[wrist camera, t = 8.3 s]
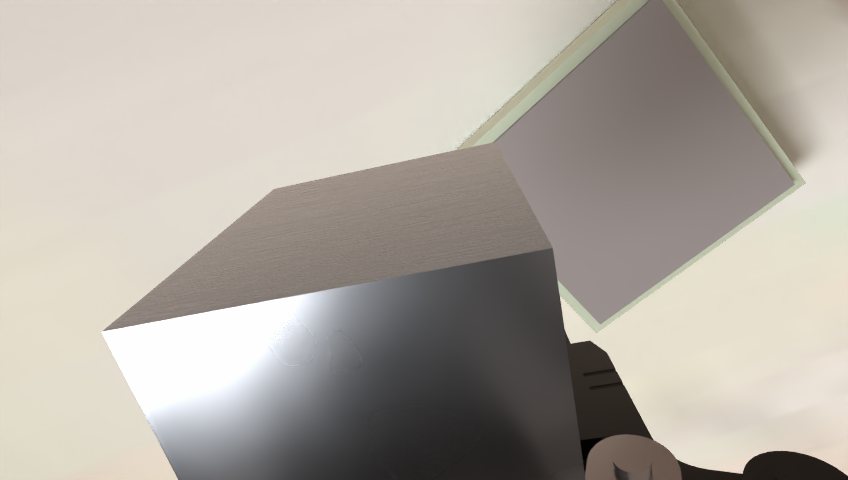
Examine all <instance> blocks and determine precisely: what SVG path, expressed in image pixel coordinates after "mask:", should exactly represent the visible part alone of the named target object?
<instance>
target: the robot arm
mask: <svg viewBox="0 0 848 480" xmlns="http://www.w3.org/2000/svg"><path fill="white" fill-rule="evenodd" d="M565 337H566V344H567V351H568V359H569V366H570V373H571V380H572V387H573V394H574V401H575V408H576V416H577V423H578V430H579V437H580V444H581V451H582V458H583V465H584V473H585V480H848V476H847V475H846V474H844V473H843V472H841V471H840V470H838V469H837V468H835V467H834V466H832V465H830V464H828V463H826V462H824V461H822V460H820V459H817V458H815V457H811V456H808V455H805V454H801V453H796V452H789V451H772V452H766V453H762V454H759V455H757V456H755V457H753V458H752V459H751V460H749V462H748V463H747V464H746V466H745V468H744V471H743V474H738V473H731V472H723V471H715V470H708V469H702V468H698V467H694V466H691V465H688V464H685V463H683V462H681V461H679V460H677V459H676V458H675V457H674V455H673V454H672V453H671V452H670V451H669V450H668V449H667V448H665V447H664V446H663V445H661V444H659V443H658V442H656V441H654V440H653V438H652V437H651V435H650V433H649V431H648V429H647V427H646V426H645V424H644V422H643V420H642V418H641V416H640V414H639V412H638V411H637V409H636V407H635V405H634V403H633V401H632V399H631V397H630V396H629V394H628V392H627V390H626V388H625V386H624V385H623V383H622V380H621V379H620V377H619V375H618V373H617V372H616V370H615V367H614V365H613V364H612V362H611V360H610V358H609V356H608V354H607V353H606V352H605V351H604V350H602V349H601V348H599V347H598V346H597V345H595V344H594V343H592V342H591V341H585V342H579V343H573V344H570V341H569V339H568V337H567V334H566V332H565Z"/></svg>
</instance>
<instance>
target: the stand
mask: <svg viewBox="0 0 848 480" xmlns="http://www.w3.org/2000/svg"><path fill="white" fill-rule="evenodd" d="M493 142H496V144H497V146H498V148H499V150H500V151H501V153H502V155H503V157H504V159H505V161H506V162H507V164H508V166H509V168H510V170H511V172H512V173H513V175H514V177H515V179H516V181H517V183H518V185H519V186H520V188H521V190H522V192H523V194H524V196H525V197H526V199H527V201H528V203H529V205H530V207H531V208H532V210H533V212H534V214H535V216H536V218H537V219H538V221H539V223H540V225H541V227H542V229H543V230H544V232H545V234H546V236H547V238H548V240H549V241H550V243H551V245H552V247H553V252H554V259H555V266H556V273H557V280H558V287H559V294H560V296H561V297H562V298H563V299H564V300H565V301H566V302H567V303H568V304H569V305H570V306H571V307H572V308H573V309H574V310H575V311H576V313H577V314H578V315H579V316H580V317H581V318H582V319H583V320H584V321H585V322H586V323H587V324H588V325H589V326H590V327H591V328H592V329H593V330H594V331H595V332H596V333H597V332H598V331H600V330H601V329H603V328H604V327H605V326H607V325H608V324H610V323H611V322H612V321H614V320H615V319H617V318H618V317H619V316H621V315H622V314H624V313H625V312H626V311H628V310H629V309H631V308H632V307H633V306H635V305H636V304H638V303H639V302H640V301H642V300H643V299H645V298H646V297H647V296H649V295H650V294H652V293H653V292H654V291H656V290H657V289H659V288H660V287H661V286H663V285H664V284H666V283H667V282H668V281H670V280H671V279H672V278H674V277H675V276H677V275H678V274H679V273H681V272H682V271H684V270H685V269H686V268H688V267H689V266H691V265H692V264H693V263H695V262H696V261H698V260H699V259H700V258H702V257H703V256H705V255H706V254H707V253H709V252H710V251H712V250H713V249H714V248H716V247H717V246H719V245H720V244H721V243H723V242H724V241H726V240H727V239H728V238H730V237H731V236H733V235H734V234H735V233H737V232H738V231H740V230H741V229H742V228H744V227H745V226H747V225H748V224H749V223H751V222H752V221H753V220H755V219H756V218H758V217H759V216H760V215H762V214H763V213H765V212H766V211H767V210H769V209H770V208H772V207H773V206H774V205H776V204H777V203H779V202H780V201H781V200H783V199H784V198H786V197H787V196H788V195H790V194H791V193H793V192H794V191H795V190H797V189H798V188H800V187H801V186H802V185H804V184H805V183H806V182H805V181H804V180H803V178H802V177H801V175H800V174H799V173H798V171H797V170H796V168H795V167H794V166H793V164H792V163H791V161H790V160H789V159H788V157H787V156H786V154H785V153H784V151H783V150H782V149H781V147H780V146H779V144H778V143H777V142H776V140H775V139H774V137H773V136H772V135H771V133H770V132H769V130H768V129H767V128H766V126H765V125H764V123H763V122H762V121H761V119H760V118H759V116H758V115H757V114H756V112H755V111H754V109H753V108H752V106H751V105H750V104H749V102H748V101H747V99H746V98H745V97H744V95H743V94H742V92H741V91H740V90H739V88H738V87H737V85H736V84H735V83H734V81H733V80H732V78H731V77H730V76H729V74H728V73H727V71H726V70H725V69H724V67H723V66H722V64H721V63H720V61H719V60H718V59H717V57H716V56H715V54H714V53H713V52H712V50H711V49H710V47H709V46H708V45H707V43H706V42H705V40H704V39H703V38H702V36H701V35H700V33H699V32H698V31H697V29H696V28H695V26H694V25H693V24H692V22H691V21H690V19H689V18H688V16H687V15H686V14H685V12H684V11H683V9H682V8H681V7H680V5H679V4H678V2H677V1H676V0H617V1H616V2H615V3H614V4H613V5H612V6H611V7H610V8H609V9H607V10H606V11H605V12H604V13H603V14H602V15H601V16H600V17H599V18H598V19H597V20H596V21H595V22H593V23H592V24H591V25H590V26H589V27H588V28H587V29H586V30H585V31H584V32H583V33H582V34H581V35H580V36H578V37H577V38H576V39H575V40H574V41H573V42H572V43H571V44H570V45H569V46H568V47H567V48H566V49H564V50H563V51H562V52H561V53H560V54H559V55H558V56H557V57H556V58H555V59H554V60H553V61H552V62H550V63H549V64H548V65H547V66H546V67H545V68H544V69H543V70H542V71H541V72H540V73H539V74H538V75H536V76H535V77H534V78H533V79H532V80H531V81H530V82H529V83H528V84H527V85H526V86H525V87H524V88H523V89H521V90H520V91H519V92H518V93H517V94H516V95H515V96H514V97H513V98H512V99H511V100H510V101H509V102H507V103H506V104H505V105H504V106H503V107H502V108H501V109H500V110H499V111H498V112H497V113H496V114H495V115H493V116H492V117H491V118H490V119H489V120H488V121H487V122H486V123H485V124H484V125H483V126H482V127H481V128H479V129H478V130H477V131H476V132H475V133H474V134H473V135H472V136H471V137H470V138H469V139H468V140H467V141H466V142H464V143H463V144H462V145H461V146H460V147H459V148H458V149H457V150H460V149H464V148H469V147H474V146H479V145H483V144H488V143H493Z"/></svg>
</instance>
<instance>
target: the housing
mask: <svg viewBox="0 0 848 480" xmlns="http://www.w3.org/2000/svg"><path fill="white" fill-rule="evenodd" d="M102 334H103V336H104V337H105V339H106V341H107V343H108V345H109V347H110V349H111V351H112V353H113V355H114V357H115V359H116V361H117V362H118V364H119V366H120V368H121V370H122V372H123V374H124V376H125V378H126V380H127V382H128V384H129V386H130V387H131V389H132V391H133V393H134V395H135V397H136V399H137V401H138V403H139V405H140V407H141V409H142V411H143V412H144V414H145V416H146V418H147V420H148V422H149V424H150V426H151V428H152V430H153V432H154V434H155V436H156V437H157V439H158V441H159V443H160V445H161V447H162V449H163V451H164V453H165V455H166V457H167V459H168V460H169V462H170V464H171V466H172V468H173V470H174V472H175V474H176V476H177V478H178V480H585V473H584V465H583V458H582V451H581V444H580V437H579V430H578V423H577V416H576V408H575V401H574V394H573V387H572V380H571V373H570V366H569V359H568V351H567V344H566V337H565V330H564V323H563V316H562V309H561V302H560V294H559V287H558V280H557V273H556V266H555V259H554V252H553V247H552V245H551V243H550V241H549V240H548V238H547V236H546V234H545V232H544V230H543V229H542V227H541V225H540V223H539V221H538V219H537V218H536V216H535V214H534V212H533V210H532V208H531V207H530V205H529V203H528V201H527V199H526V197H525V196H524V194H523V192H522V190H521V188H520V186H519V185H518V183H517V181H516V179H515V177H514V175H513V173H512V172H511V170H510V168H509V166H508V164H507V162H506V161H505V159H504V157H503V155H502V153H501V151H500V150H499V148H498V146H497V144H496V142H493V143H488V144H483V145H479V146H474V147H469V148H464V149H460V150H455V151H450V152H446V153H441V154H436V155H432V156H427V157H422V158H418V159H413V160H408V161H404V162H399V163H394V164H390V165H385V166H380V167H375V168H371V169H366V170H361V171H357V172H352V173H347V174H343V175H338V176H333V177H329V178H324V179H319V180H315V181H310V182H305V183H300V184H296V185H291V186H286V187H282V188H277V189H274V190H273V191H271V192H270V193H269V194H268V195H266V196H265V197H264V198H263V199H262V200H260V201H259V202H258V203H257V204H256V205H254V206H253V207H252V208H251V209H250V210H248V211H247V212H246V213H245V214H244V215H242V216H241V217H240V218H239V219H238V220H236V221H235V222H234V223H233V224H231V225H230V226H229V227H228V228H227V229H225V230H224V231H223V232H222V233H221V234H219V235H218V236H217V237H216V238H215V239H213V240H212V241H211V242H210V243H209V244H207V245H206V246H205V247H204V248H203V249H201V250H200V251H199V252H198V253H196V254H195V255H194V256H193V257H192V258H190V259H189V260H188V261H187V262H186V263H184V264H183V265H182V266H181V267H180V268H178V269H177V270H176V271H175V272H174V273H172V274H171V275H170V276H169V277H168V278H166V279H165V280H164V281H163V282H161V283H160V284H159V285H158V286H157V287H155V288H154V289H153V290H152V291H151V292H149V293H148V294H147V295H146V296H145V297H143V298H142V299H141V300H140V301H139V302H137V303H136V304H135V305H134V306H132V307H131V308H130V309H129V310H128V311H126V312H125V313H124V314H123V315H122V316H120V317H119V318H118V319H117V320H116V321H114V322H113V323H112V324H111V325H110V326H108V327H107V328H106V329H105V330H104V331H102Z"/></svg>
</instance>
